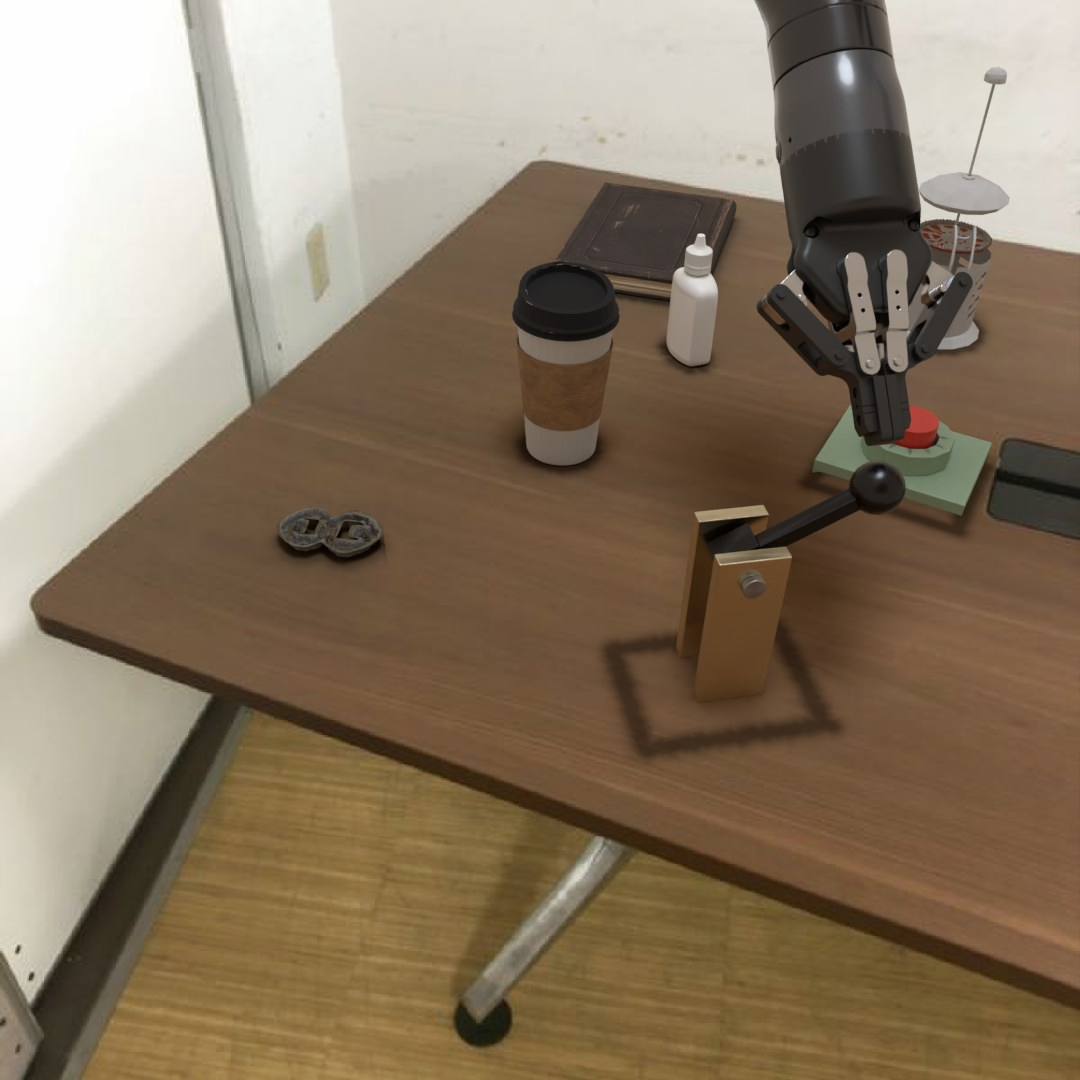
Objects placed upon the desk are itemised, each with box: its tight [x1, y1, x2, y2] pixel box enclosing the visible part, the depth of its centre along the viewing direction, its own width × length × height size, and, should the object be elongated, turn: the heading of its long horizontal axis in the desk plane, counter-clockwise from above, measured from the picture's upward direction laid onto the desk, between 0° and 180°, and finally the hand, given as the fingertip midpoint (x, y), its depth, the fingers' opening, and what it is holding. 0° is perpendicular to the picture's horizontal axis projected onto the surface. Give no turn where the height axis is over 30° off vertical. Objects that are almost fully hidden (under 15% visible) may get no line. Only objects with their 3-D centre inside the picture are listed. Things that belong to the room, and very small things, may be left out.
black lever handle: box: [706, 461, 906, 562], centre depth 66 cm, size 12×3×3 cm, turn 101°
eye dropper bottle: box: [665, 234, 719, 367], centre depth 104 cm, size 4×6×12 cm
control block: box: [811, 404, 993, 516], centre depth 92 cm, size 12×10×4 cm
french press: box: [906, 66, 1010, 350], centre depth 104 cm, size 10×12×25 cm
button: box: [893, 405, 940, 449], centre depth 90 cm, size 4×4×2 cm
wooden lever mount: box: [675, 504, 793, 703], centre depth 70 cm, size 12×9×13 cm
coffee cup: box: [511, 261, 620, 467], centre depth 90 cm, size 8×8×15 cm
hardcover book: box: [553, 182, 737, 302], centre depth 125 cm, size 16×23×2 cm
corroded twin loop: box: [276, 506, 383, 559], centre depth 84 cm, size 5×8×1 cm, turn 82°
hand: (885, 442), depth 64 cm, fingers closed
